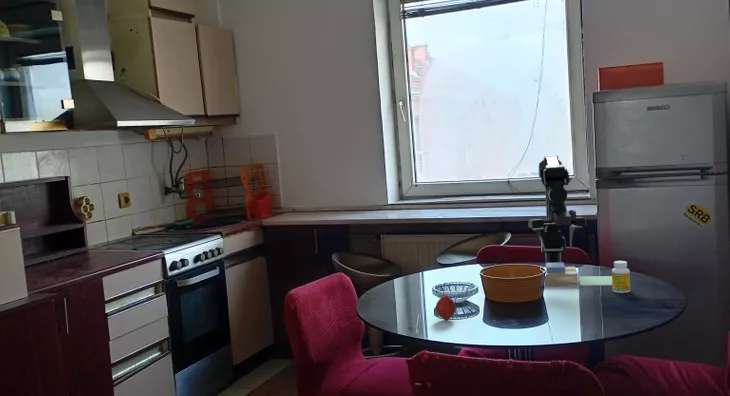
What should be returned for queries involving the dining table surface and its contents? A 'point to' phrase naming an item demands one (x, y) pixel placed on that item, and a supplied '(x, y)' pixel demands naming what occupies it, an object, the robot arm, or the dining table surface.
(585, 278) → the mat
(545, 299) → the dining table surface
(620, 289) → the supplement bottle
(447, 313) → the onion
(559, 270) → the periwinkle blue block
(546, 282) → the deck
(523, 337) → the dining table surface
